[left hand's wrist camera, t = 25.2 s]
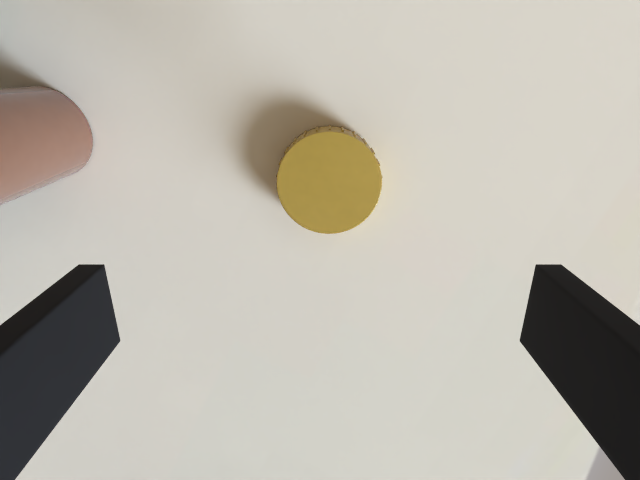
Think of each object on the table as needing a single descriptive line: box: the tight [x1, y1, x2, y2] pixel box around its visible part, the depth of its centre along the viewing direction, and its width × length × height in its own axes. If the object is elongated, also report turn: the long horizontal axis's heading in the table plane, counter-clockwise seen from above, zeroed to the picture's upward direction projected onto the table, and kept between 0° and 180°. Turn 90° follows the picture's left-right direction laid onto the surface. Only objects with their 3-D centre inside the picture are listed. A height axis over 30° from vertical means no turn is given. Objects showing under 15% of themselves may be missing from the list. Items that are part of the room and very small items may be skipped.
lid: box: [276, 125, 382, 234], centre depth 24 cm, size 6×6×2 cm
